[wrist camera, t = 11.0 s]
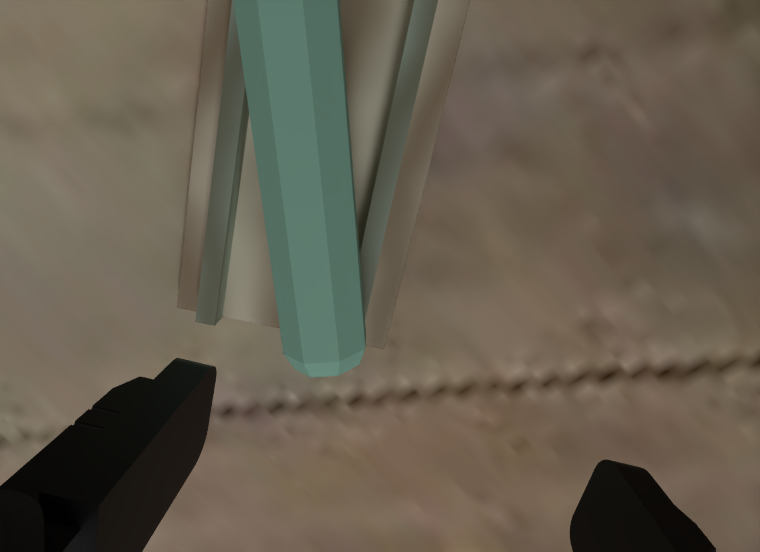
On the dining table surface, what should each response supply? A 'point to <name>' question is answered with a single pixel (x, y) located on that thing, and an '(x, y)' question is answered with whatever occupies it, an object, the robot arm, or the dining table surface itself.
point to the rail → (368, 145)
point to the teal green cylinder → (305, 177)
